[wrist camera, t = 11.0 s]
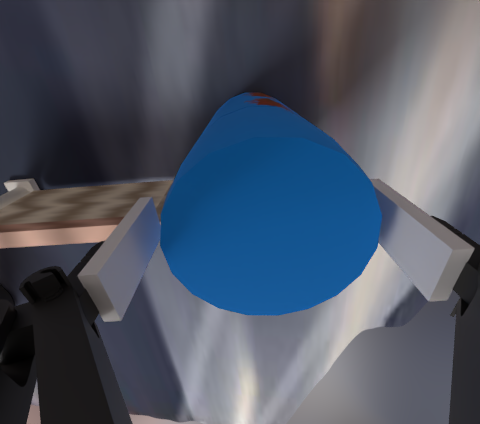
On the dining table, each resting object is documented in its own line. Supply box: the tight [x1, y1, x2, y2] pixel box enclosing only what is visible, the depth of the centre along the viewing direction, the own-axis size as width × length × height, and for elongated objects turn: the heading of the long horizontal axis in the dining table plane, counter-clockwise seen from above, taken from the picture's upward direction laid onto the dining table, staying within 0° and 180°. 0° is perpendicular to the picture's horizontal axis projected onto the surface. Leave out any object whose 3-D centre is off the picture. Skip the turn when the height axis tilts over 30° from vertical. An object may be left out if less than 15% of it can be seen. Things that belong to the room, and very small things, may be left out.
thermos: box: [160, 92, 382, 315], centre depth 22 cm, size 11×11×25 cm
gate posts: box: [0, 179, 40, 209], centre depth 30 cm, size 32×4×16 cm, turn 95°
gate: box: [0, 180, 174, 248], centre depth 30 cm, size 24×2×12 cm, turn 95°
